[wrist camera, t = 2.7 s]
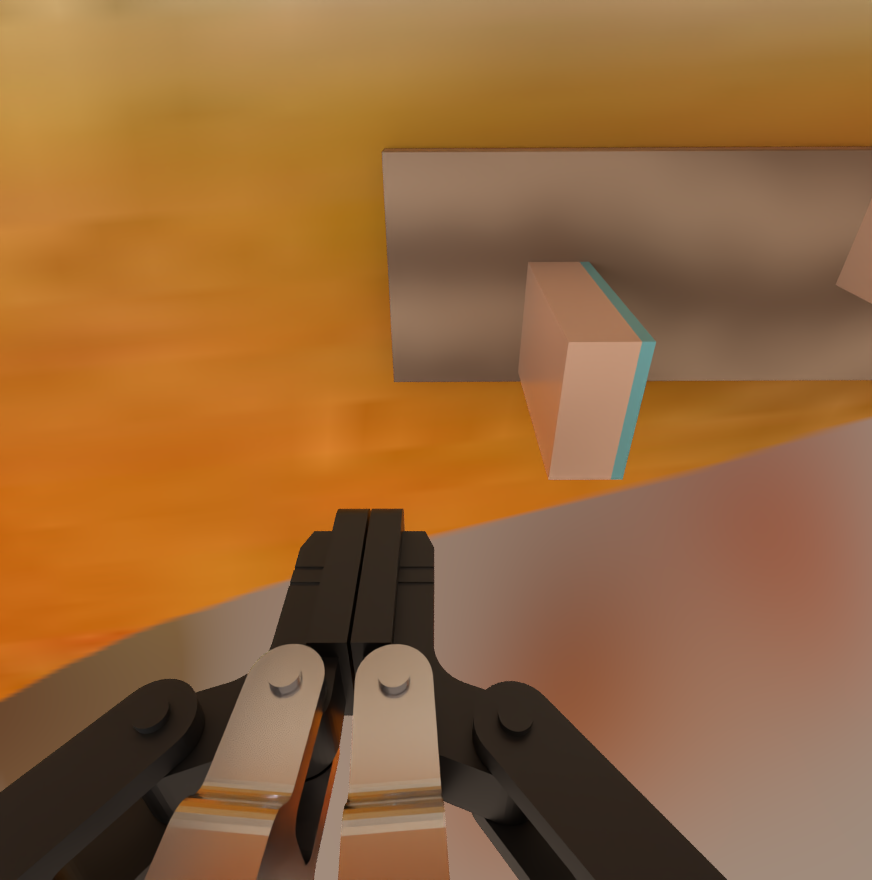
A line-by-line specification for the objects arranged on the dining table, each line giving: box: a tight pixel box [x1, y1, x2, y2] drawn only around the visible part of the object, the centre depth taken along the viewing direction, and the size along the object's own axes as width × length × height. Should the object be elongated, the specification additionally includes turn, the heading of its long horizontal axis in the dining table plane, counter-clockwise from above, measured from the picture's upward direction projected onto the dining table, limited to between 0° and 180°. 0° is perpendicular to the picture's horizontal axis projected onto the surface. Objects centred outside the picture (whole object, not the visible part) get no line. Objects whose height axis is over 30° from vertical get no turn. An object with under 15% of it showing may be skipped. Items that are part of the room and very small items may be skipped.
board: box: [382, 147, 872, 382], centre depth 23 cm, size 10×28×1 cm, turn 90°
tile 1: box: [518, 262, 656, 480], centre depth 20 cm, size 5×2×8 cm, turn 0°
